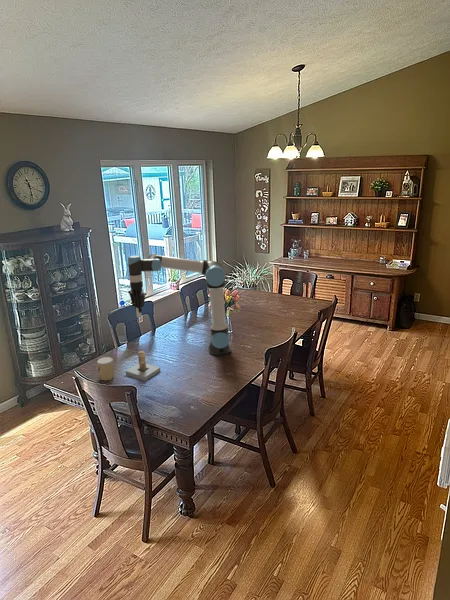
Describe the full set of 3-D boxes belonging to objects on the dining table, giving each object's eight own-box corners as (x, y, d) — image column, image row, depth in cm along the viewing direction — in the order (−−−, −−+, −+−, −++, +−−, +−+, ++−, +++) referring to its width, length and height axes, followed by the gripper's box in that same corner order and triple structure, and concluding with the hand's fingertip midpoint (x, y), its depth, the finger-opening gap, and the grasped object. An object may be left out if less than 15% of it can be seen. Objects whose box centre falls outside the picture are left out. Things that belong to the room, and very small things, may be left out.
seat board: (160, 371, 256) (160, 367, 255) (145, 380, 244) (144, 377, 243) (141, 365, 264) (141, 361, 263) (125, 374, 252) (125, 370, 251)
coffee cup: (100, 374, 253) (98, 357, 249) (116, 373, 253) (114, 356, 249) (97, 382, 244) (95, 364, 240) (113, 381, 244) (111, 363, 241)
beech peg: (147, 372, 254) (146, 351, 250) (143, 375, 251) (141, 354, 247) (142, 370, 257) (141, 350, 252) (138, 373, 253) (136, 353, 249)
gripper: (148, 280, 249) (151, 316, 256) (132, 278, 255) (135, 313, 262) (139, 283, 242) (142, 320, 250) (123, 281, 249) (127, 317, 256)
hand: (139, 316), depth 256 cm, fingers closed
